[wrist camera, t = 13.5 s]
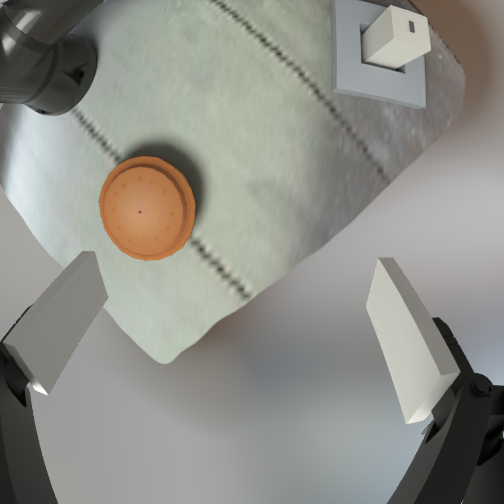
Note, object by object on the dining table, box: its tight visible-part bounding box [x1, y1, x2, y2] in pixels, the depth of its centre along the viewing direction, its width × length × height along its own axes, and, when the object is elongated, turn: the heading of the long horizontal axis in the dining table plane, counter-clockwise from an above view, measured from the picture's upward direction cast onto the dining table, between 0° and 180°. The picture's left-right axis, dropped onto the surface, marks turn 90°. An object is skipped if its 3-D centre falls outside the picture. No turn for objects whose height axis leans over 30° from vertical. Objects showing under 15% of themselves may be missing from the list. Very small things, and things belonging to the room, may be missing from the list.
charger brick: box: [361, 5, 431, 71], centre depth 27 cm, size 5×5×12 cm
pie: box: [99, 156, 196, 261], centre depth 40 cm, size 15×16×5 cm
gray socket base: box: [331, 0, 426, 109], centre depth 31 cm, size 16×14×3 cm
